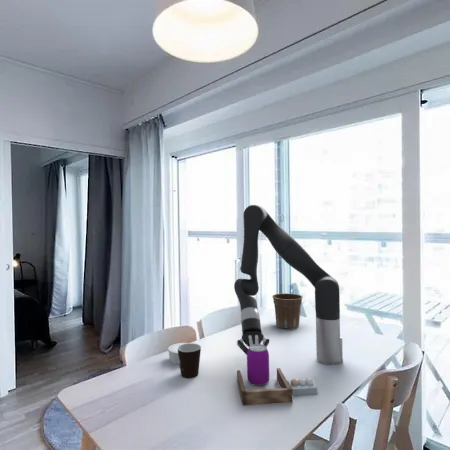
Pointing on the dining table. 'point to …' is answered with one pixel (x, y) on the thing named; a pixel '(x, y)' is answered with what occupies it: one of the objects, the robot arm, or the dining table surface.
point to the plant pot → (287, 310)
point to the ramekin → (174, 353)
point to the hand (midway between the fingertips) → (256, 365)
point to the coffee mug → (189, 359)
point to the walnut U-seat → (265, 392)
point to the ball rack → (302, 386)
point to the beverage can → (258, 364)
